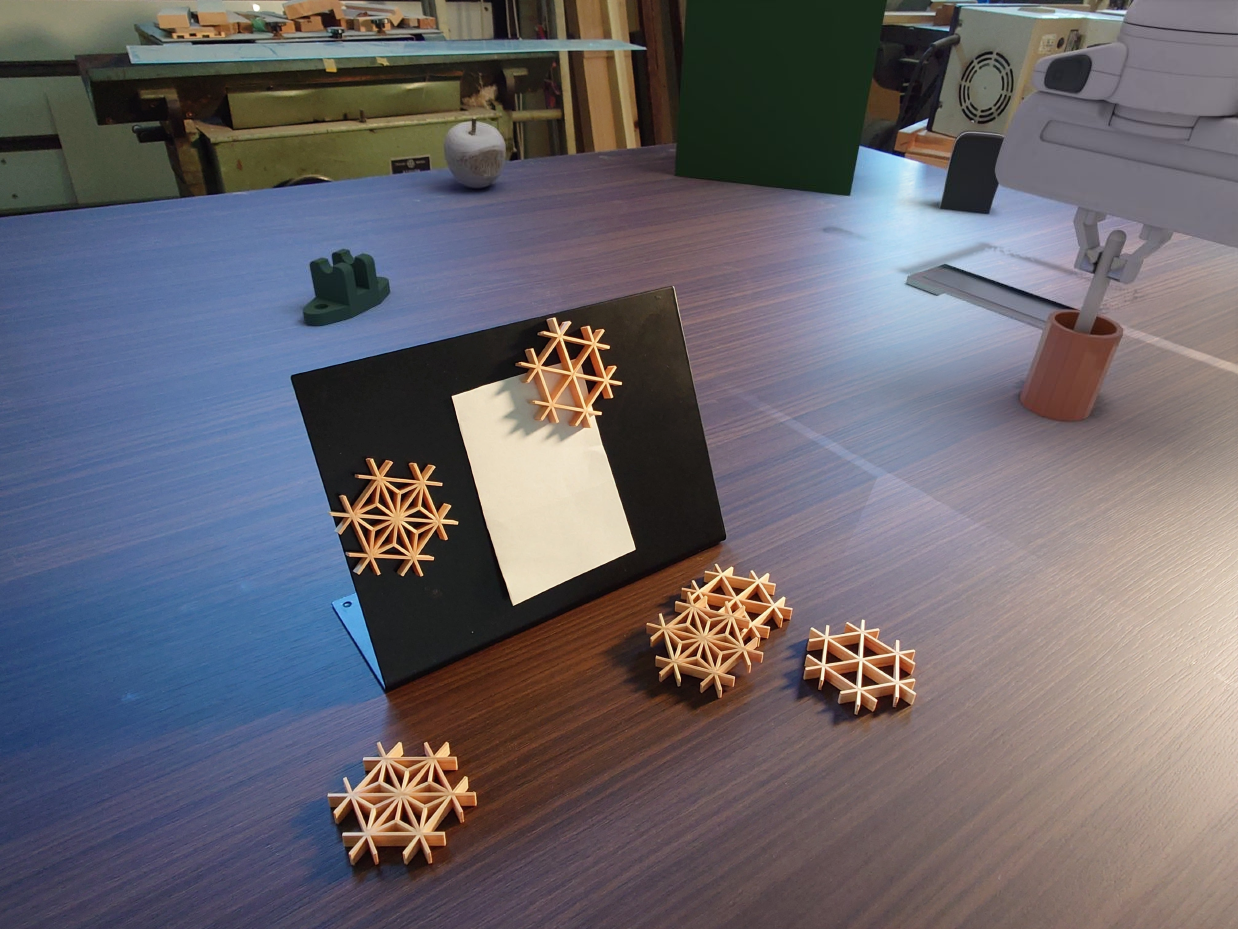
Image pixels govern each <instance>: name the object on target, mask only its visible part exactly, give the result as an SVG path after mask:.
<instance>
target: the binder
mask: <svg viewBox="0 0 1238 929" xmlns="http://www.w3.org/2000/svg"><path fill="white" fill-rule="evenodd" d="M887 3H888V0H685V14H684V30H683V41H682V56H681V57H682V58H681V60H682V61H681V74H680V88H679V100H678V101H679V102H678V116H677V117H678V118H677V132H676V144H675V145H676V147H675V160H674V161H675V162H674V176H676V177H685V178H694V179H701V180H703V179H704V180H711V181H719V182H729V183H736V184H737V183H738V184H745V185H753V186H754V185H755V186H764V187H772V188H780V189H787V190H797V191H805V192H806V191H807V192H815V193H823V194H824V193H825V194H832V195H840V194H841V195H840V196H848V195H850V196H851V193H852V187H853V182H854V177H855V172H856V166H857V161H858V157H859V156H858V155H859V152H860V147H861V146H860V145H861V140H862V135H863V130H864V124H865V119H866V115H867V110H868V103H869V99H870V93H871V88H872V84H873V78H874V71H875V66H876V62H877V55H878V51H879V47H880V46H879V45H880V41H881V40H880V39H881V34H882V30H883V25H884V19H885V13H886V8H887Z"/></svg>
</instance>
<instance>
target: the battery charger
mask: <svg viewBox="0 0 1238 929" xmlns="http://www.w3.org/2000/svg"><path fill="white" fill-rule="evenodd" d="M1004 137H1005V135H1004V134H1002V133H999V132H996V131H995V132H994V131H986V130H974V129H973V130H971V129H970V130H969V129H967V130H964V131H961V132H960V133H959V134H958V135H957V136H956V137H955V139H954V142H953V145H952V148H951V152H950V156H949V160H948V164H947V168H946V174H945V177H944V178H945V179H944V184H943V189H942V194H941V198H940V202H939V206H938V208H939V209H940V210H946V211H954V212H955V211H956V212H963V213H964V212H965V213H971V214H972V213H973V214H982V215H990V213H991V210H992V207H993V202H994V200H995V198H996V194H997V191H998V189H999V187H1000V185H999V182H998V180H997V177H996V173H995V166H996V162H997V159H998V155H999V152H1000V149H1001V146H1002V143H1003V140H1004Z"/></svg>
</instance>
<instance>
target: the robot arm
mask: <svg viewBox="0 0 1238 929" xmlns="http://www.w3.org/2000/svg"><path fill="white" fill-rule="evenodd" d="M1030 84H1031V86H1032V88H1033V89H1035V91H1033V92H1031V93H1029V94H1028V95H1027V96H1025V97H1024V98H1023V99H1022V100H1021V101H1020V103H1019V104H1018V106H1017V107H1016V109H1015V111H1014V113H1013V114H1012V117H1011V119H1010V122H1009V124H1008V127H1007V129H1006V132H1005V135H1004V136H1005V137H1004V140H1003V143H1002V146H1001V149H1000V152H999V155H998V159H997V162H996V166H995V173H996V177H997V180H998V182H999V187H1002V188H1004V189H1007V190H1012V191H1015V192H1020V193H1024V194H1027V195H1031V196H1035V197H1038V198H1042V199H1046V200H1050V201H1054V202H1057V203H1061V204H1066V205H1069V206H1073V207H1076V208H1077V209H1076V212H1075V214H1074V218H1073V220H1072V221H1073V227H1074V231H1075V236H1076V240H1077V245H1078V247H1079V250H1078V252H1077V255H1076V258H1075V261H1074V263H1073V268H1074V269H1075V270H1078V271H1081V272H1086V273H1088V274H1092V275H1094V273H1095V271H1096V268H1097V265H1098V262H1099V260H1100V257H1101V254H1102V252H1103V249H1104V246H1105V245H1101V240H1100V234H1099V227H1098V223H1101V222H1104V221H1105V220H1106V218H1107V216H1111V217H1115V218H1119V219H1123V220H1127V221H1131V222H1134V223H1139V224H1142V228H1141V230H1140V233H1139V235H1138V239H1139V240H1142V241H1145V242H1144V243H1142V244H1141V245H1140V246H1139V247H1138V248H1137V249H1135V251H1133V252H1132V253H1128V252H1123V253H1121V254H1120V255H1119V256H1115V257H1114V258H1113V261H1112V263H1111V270H1110V271H1108V274H1107V279H1110V281H1113V282H1117V283H1119V284H1123V285H1129V284H1132V283H1134V282H1135V281H1136V279H1137V278H1138V276H1139V274H1140V271H1141V269H1142V267H1143V264H1144V261H1145V260H1146V259H1148V258H1149V257H1150V256H1152V255H1153V254H1154V253H1155V252H1157V251H1158V250H1160V248H1161V247H1163V246H1164V245H1165V244H1167V243H1168V242H1169V241H1171V240H1172V237H1173V235H1174V234H1175V233H1177V234H1180V235H1185V236H1189V237H1192V238H1196V239H1200V240H1203V241H1206V242H1211V243H1215V244H1219V245H1223V246H1226V247H1230V248H1234V249H1238V0H1132V2H1131V3H1130V5H1129V7H1128V8H1127V10H1126V12H1125V14H1124V16H1123V19H1122V22H1121V24H1120V28H1119V31H1118V34H1117V37H1116V38H1115V39H1114V40H1113V42H1102V43H1101V42H1100V43H1094V44H1090V45H1089V44H1088V45H1087V46H1086V48H1082V49H1076V50H1071V51H1066V52H1065V51H1064V52H1060V53H1056V54H1052V55H1047V56H1044V57H1041V58H1040V59H1038V60H1037V61H1036V63H1035V65H1034V66H1033V69H1032V73H1031V78H1030Z"/></svg>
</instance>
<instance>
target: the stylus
mask: <svg viewBox="0 0 1238 929" xmlns="http://www.w3.org/2000/svg"><path fill="white" fill-rule="evenodd" d="M1126 241H1127V234H1126V232H1125V231H1124V230H1122V229H1115V230H1112V231H1111V232H1110V233H1109V234H1108V236H1107V238H1106V241H1105V244H1104V245H1103V246H1104V249H1103V252H1102V254H1101V257H1100V260H1099V262H1098V265H1097V268H1096V271H1095V273H1094V274H1093V276H1092V278H1091V281H1090V283H1089V287H1088V290H1087V293H1086V295H1085V298H1084V300H1083V303H1082V306H1081V308H1080V310H1081V311H1080V314H1079V316H1078V319H1077V322H1076V324H1075V327H1074V330H1073V331H1076V332H1080V333H1084V334H1089V335H1090V332H1091V329H1092V327H1093V324H1094V322H1095V319H1096V316H1097V314H1099V311H1100V308H1101V306H1102V303H1103V300H1104V298H1105V296H1106V293H1107V290H1108V289H1109V286H1110V282H1111V280H1110V279H1107V274H1108V271H1110V270H1111V263H1112V261H1113V258H1114V257H1115V256H1119V255H1121V254H1122V252H1123V249H1124V246H1125V244H1126Z"/></svg>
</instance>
